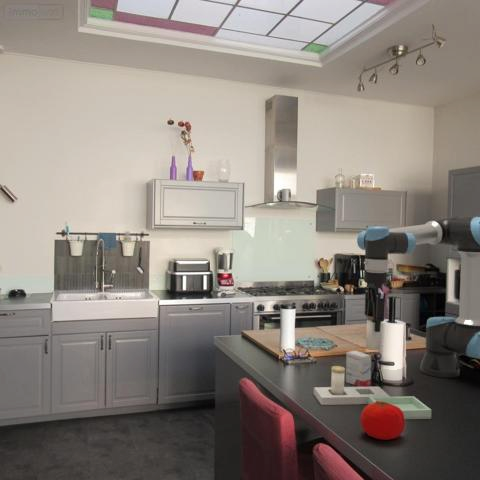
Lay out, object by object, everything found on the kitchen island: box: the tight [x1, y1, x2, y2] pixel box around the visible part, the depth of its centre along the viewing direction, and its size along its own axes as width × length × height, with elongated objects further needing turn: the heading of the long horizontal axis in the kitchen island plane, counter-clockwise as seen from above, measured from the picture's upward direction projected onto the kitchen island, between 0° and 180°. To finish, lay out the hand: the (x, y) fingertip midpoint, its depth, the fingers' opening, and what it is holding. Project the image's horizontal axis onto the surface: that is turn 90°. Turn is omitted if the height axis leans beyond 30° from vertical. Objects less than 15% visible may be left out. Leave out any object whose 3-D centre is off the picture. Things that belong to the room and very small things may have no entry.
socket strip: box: [313, 365, 391, 406], centre depth 173 cm, size 24×10×11 cm, turn 97°
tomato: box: [360, 401, 406, 441], centre depth 143 cm, size 11×13×10 cm
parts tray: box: [368, 395, 432, 420], centre depth 162 cm, size 16×12×3 cm
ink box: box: [345, 350, 372, 387], centre depth 188 cm, size 9×5×12 cm, turn 33°
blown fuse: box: [365, 315, 381, 351], centre depth 170 cm, size 5×5×11 cm
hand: (373, 338), depth 170 cm, fingers closed on blown fuse, 4 cm apart
